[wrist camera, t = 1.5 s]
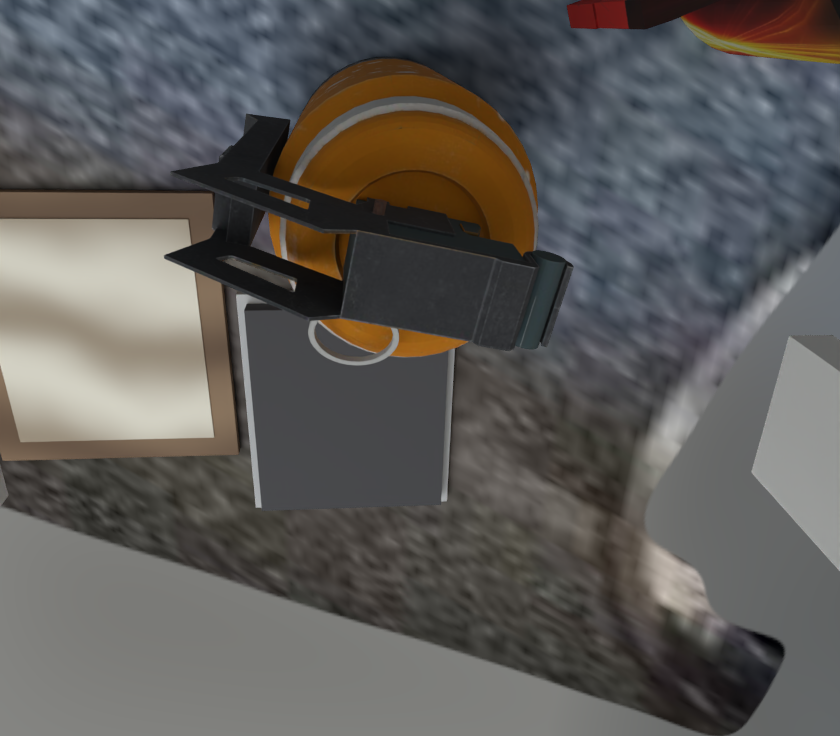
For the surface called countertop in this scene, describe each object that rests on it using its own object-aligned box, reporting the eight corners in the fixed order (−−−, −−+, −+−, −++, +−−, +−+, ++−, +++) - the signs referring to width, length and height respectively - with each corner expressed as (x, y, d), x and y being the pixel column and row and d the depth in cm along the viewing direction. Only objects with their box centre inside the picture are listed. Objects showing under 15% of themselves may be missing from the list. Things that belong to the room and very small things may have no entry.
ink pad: (237, 290, 37) (233, 301, 36) (456, 289, 38) (460, 299, 37) (257, 501, 43) (253, 517, 42) (445, 495, 44) (448, 511, 43)
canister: (452, 258, 37) (546, 476, 20) (240, 216, 35) (129, 415, 18) (498, 81, 34) (665, 149, 16) (264, 23, 32) (154, 26, 14)
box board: (-66, 188, 34) (-73, 192, 33) (214, 190, 35) (211, 194, 34) (7, 454, 40) (1, 461, 40) (240, 449, 41) (238, 455, 41)
